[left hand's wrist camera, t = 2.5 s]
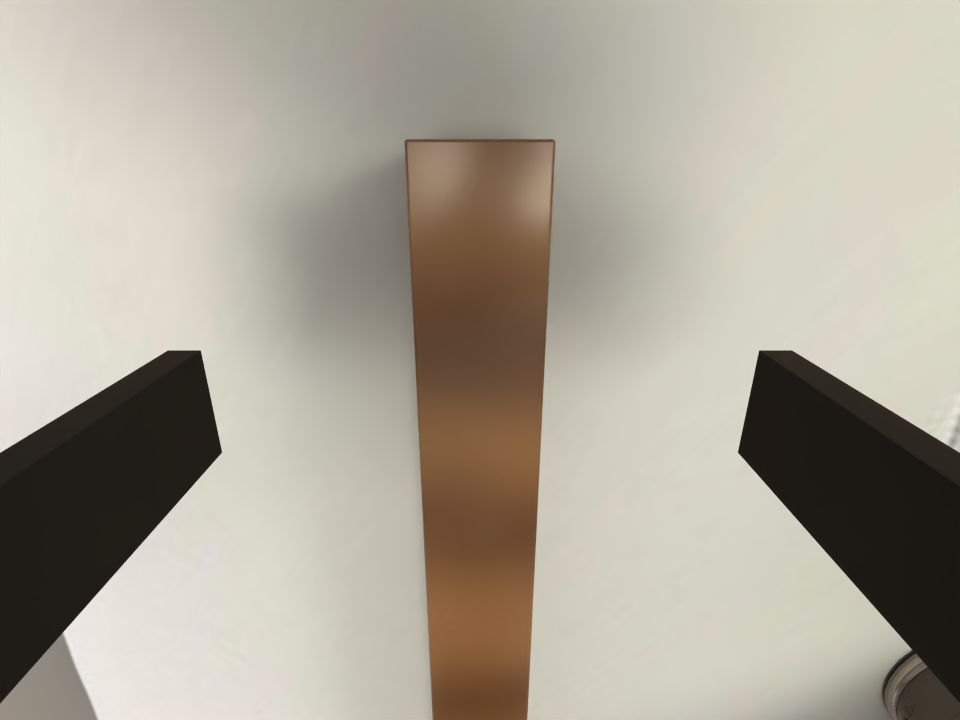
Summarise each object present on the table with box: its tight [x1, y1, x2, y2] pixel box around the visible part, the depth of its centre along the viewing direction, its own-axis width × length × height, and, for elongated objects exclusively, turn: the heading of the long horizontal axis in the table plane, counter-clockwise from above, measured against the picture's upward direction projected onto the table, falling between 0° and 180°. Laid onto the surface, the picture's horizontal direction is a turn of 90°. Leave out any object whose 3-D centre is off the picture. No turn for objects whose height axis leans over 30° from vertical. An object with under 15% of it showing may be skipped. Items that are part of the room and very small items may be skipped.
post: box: [405, 139, 555, 720], centre depth 30 cm, size 53×5×8 cm, turn 0°
